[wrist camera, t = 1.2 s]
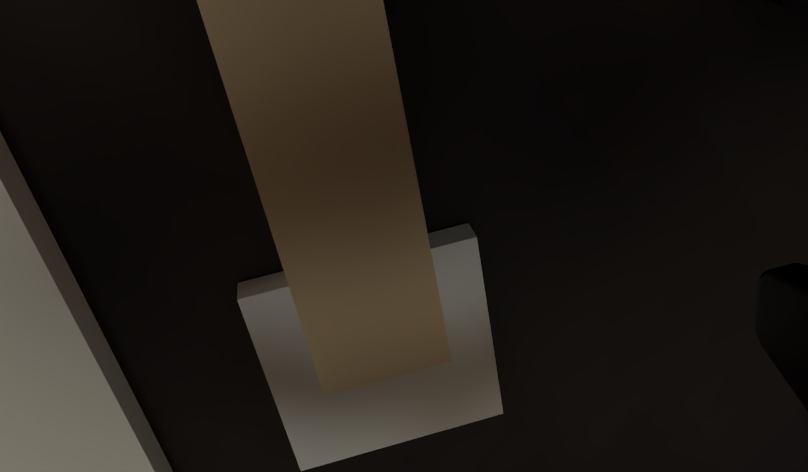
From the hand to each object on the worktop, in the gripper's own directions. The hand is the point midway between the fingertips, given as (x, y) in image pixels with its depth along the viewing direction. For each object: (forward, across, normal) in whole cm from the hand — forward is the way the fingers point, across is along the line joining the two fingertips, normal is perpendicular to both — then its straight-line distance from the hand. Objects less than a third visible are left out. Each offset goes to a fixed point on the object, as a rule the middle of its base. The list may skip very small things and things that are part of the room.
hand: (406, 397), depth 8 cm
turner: (+9, 0, 0) cm, 9 cm away
